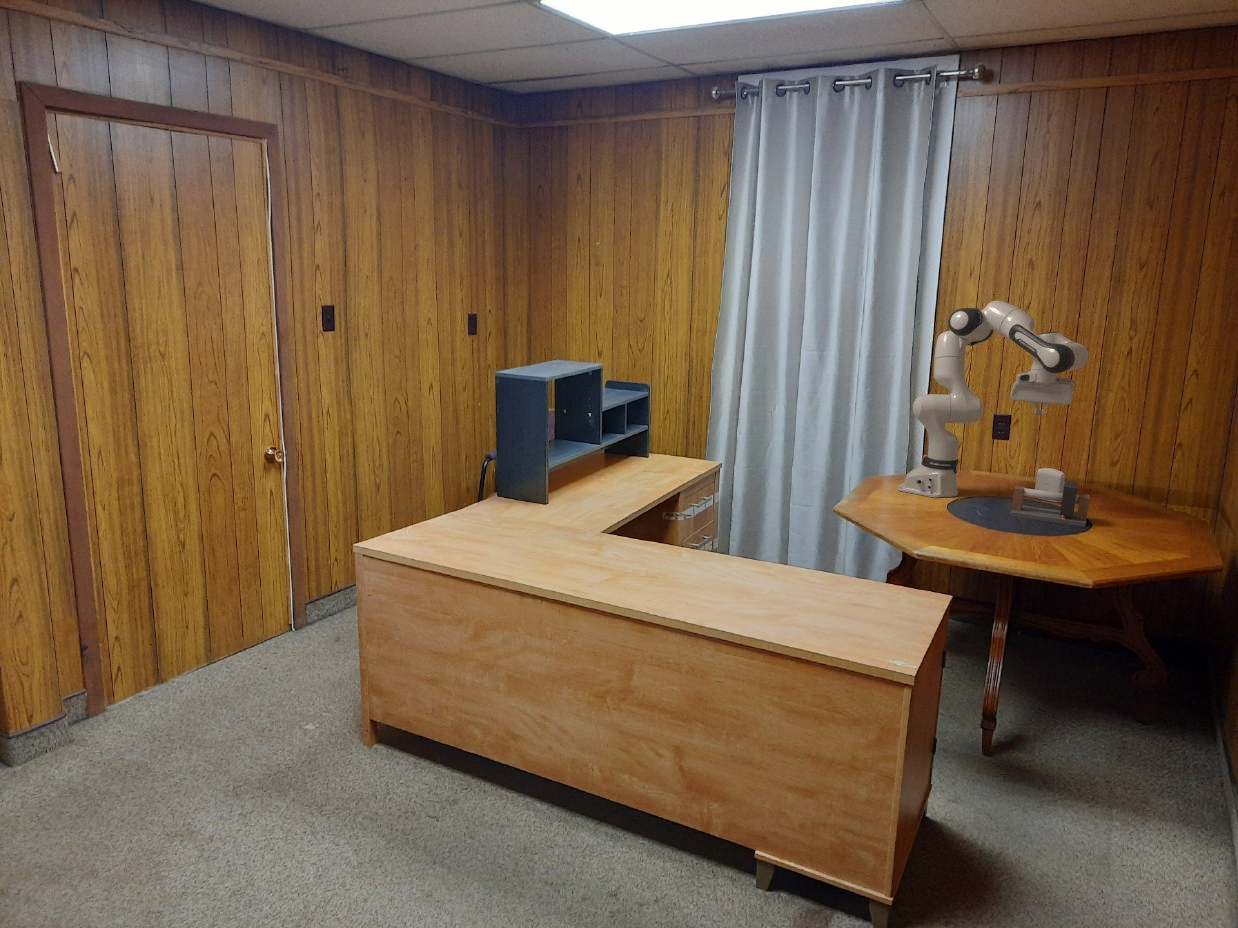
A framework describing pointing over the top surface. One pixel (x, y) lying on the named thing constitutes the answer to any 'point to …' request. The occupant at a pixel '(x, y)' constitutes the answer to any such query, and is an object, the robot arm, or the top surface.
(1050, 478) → the photo printer
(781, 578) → the top surface
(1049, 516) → the pipe rig
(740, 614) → the top surface
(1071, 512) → the collar
